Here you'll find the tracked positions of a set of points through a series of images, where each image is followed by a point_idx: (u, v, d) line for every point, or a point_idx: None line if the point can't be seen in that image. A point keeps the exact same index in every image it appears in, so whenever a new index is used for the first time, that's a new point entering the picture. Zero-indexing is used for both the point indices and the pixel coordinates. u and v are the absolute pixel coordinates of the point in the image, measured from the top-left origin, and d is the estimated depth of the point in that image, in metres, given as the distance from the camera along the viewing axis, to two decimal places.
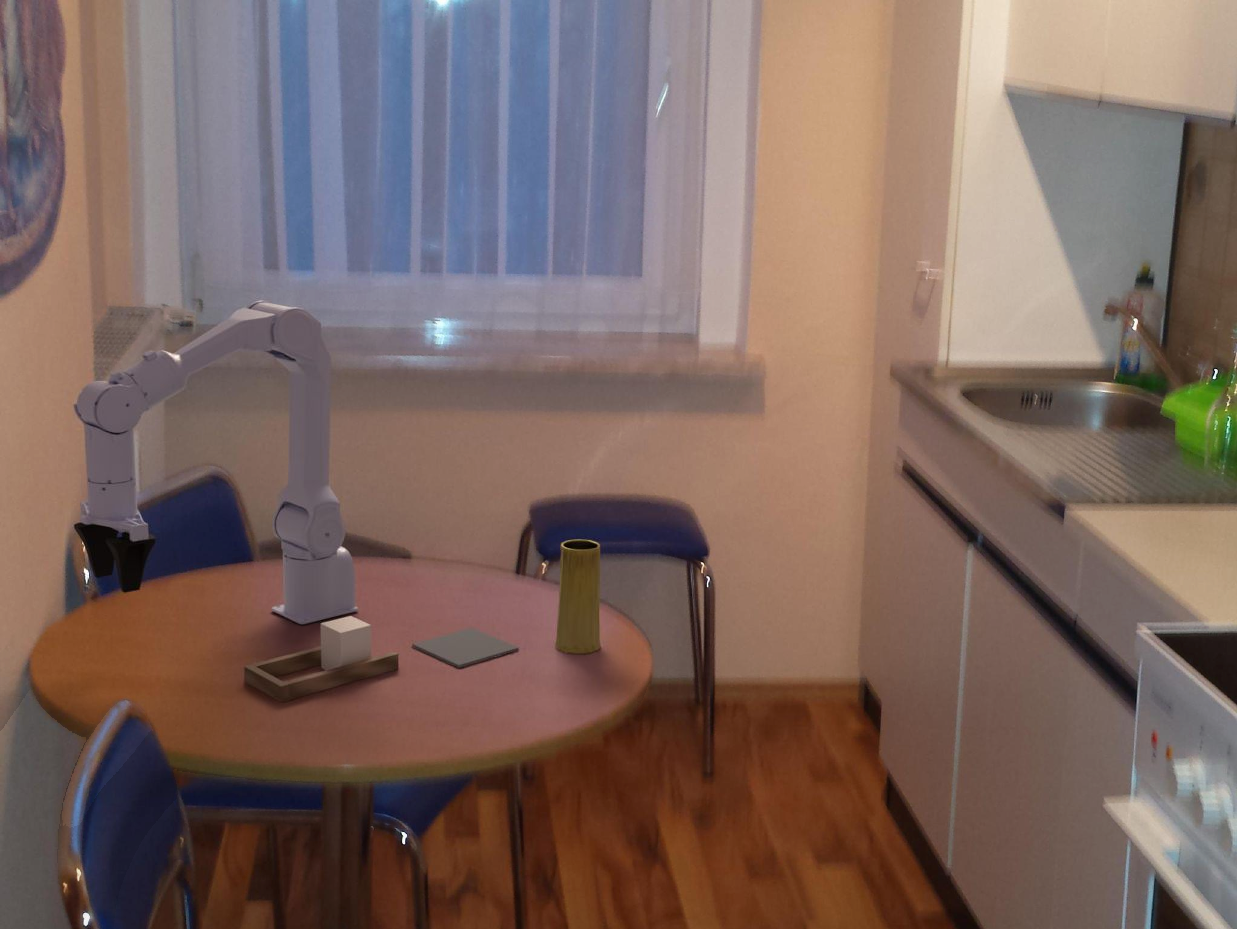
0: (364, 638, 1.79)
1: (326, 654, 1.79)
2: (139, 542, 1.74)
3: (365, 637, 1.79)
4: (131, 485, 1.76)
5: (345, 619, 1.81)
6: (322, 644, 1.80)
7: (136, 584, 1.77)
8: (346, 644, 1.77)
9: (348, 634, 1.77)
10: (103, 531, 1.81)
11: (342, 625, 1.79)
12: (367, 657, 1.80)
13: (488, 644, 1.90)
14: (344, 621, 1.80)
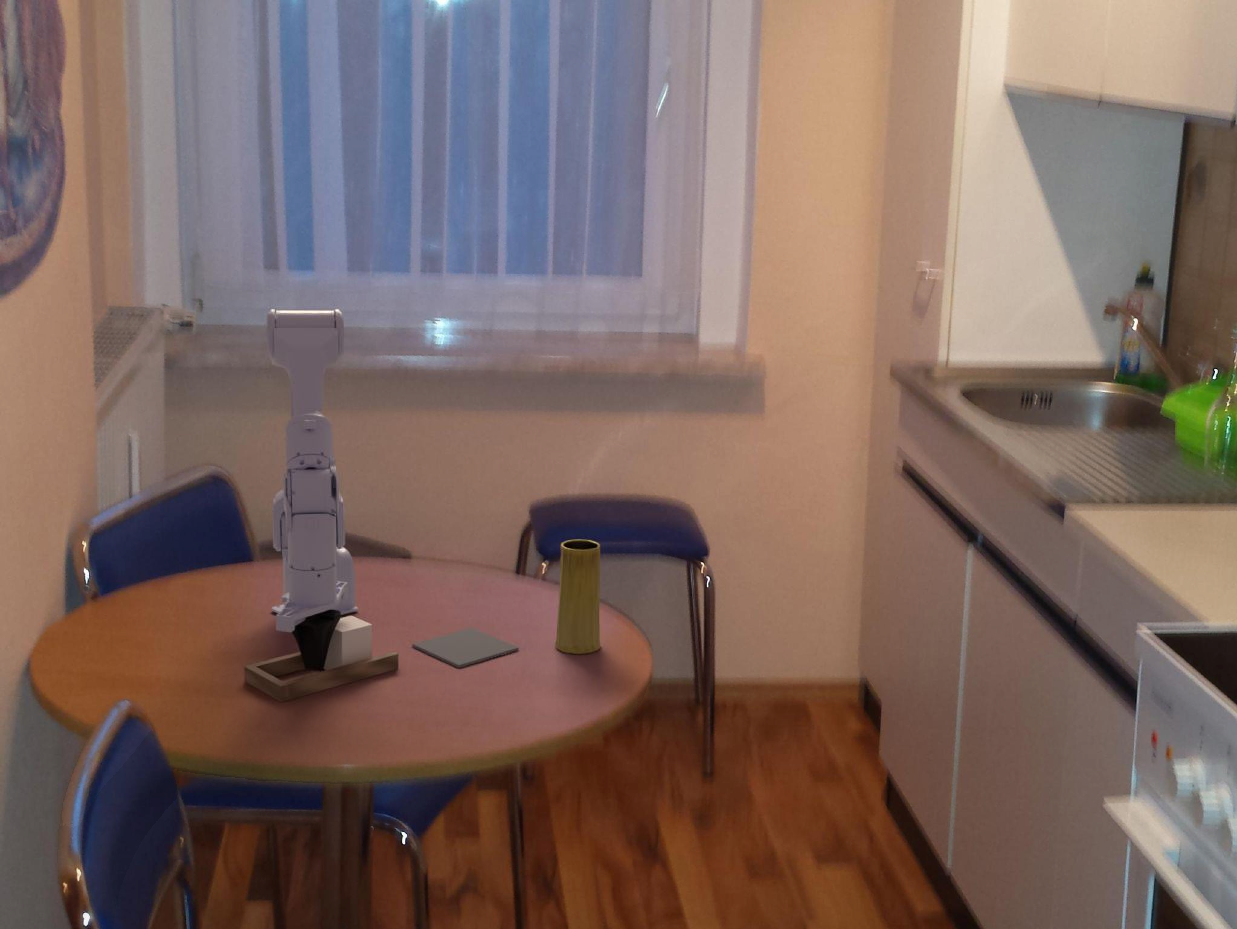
0: (365, 637, 1.79)
1: (327, 654, 1.79)
2: (305, 624, 1.73)
3: (366, 636, 1.79)
4: (312, 575, 1.72)
5: (345, 618, 1.81)
6: None
7: (315, 665, 1.76)
8: (347, 643, 1.77)
9: (349, 634, 1.77)
10: None
11: (343, 624, 1.79)
12: (368, 657, 1.80)
13: (488, 644, 1.90)
14: (345, 620, 1.81)
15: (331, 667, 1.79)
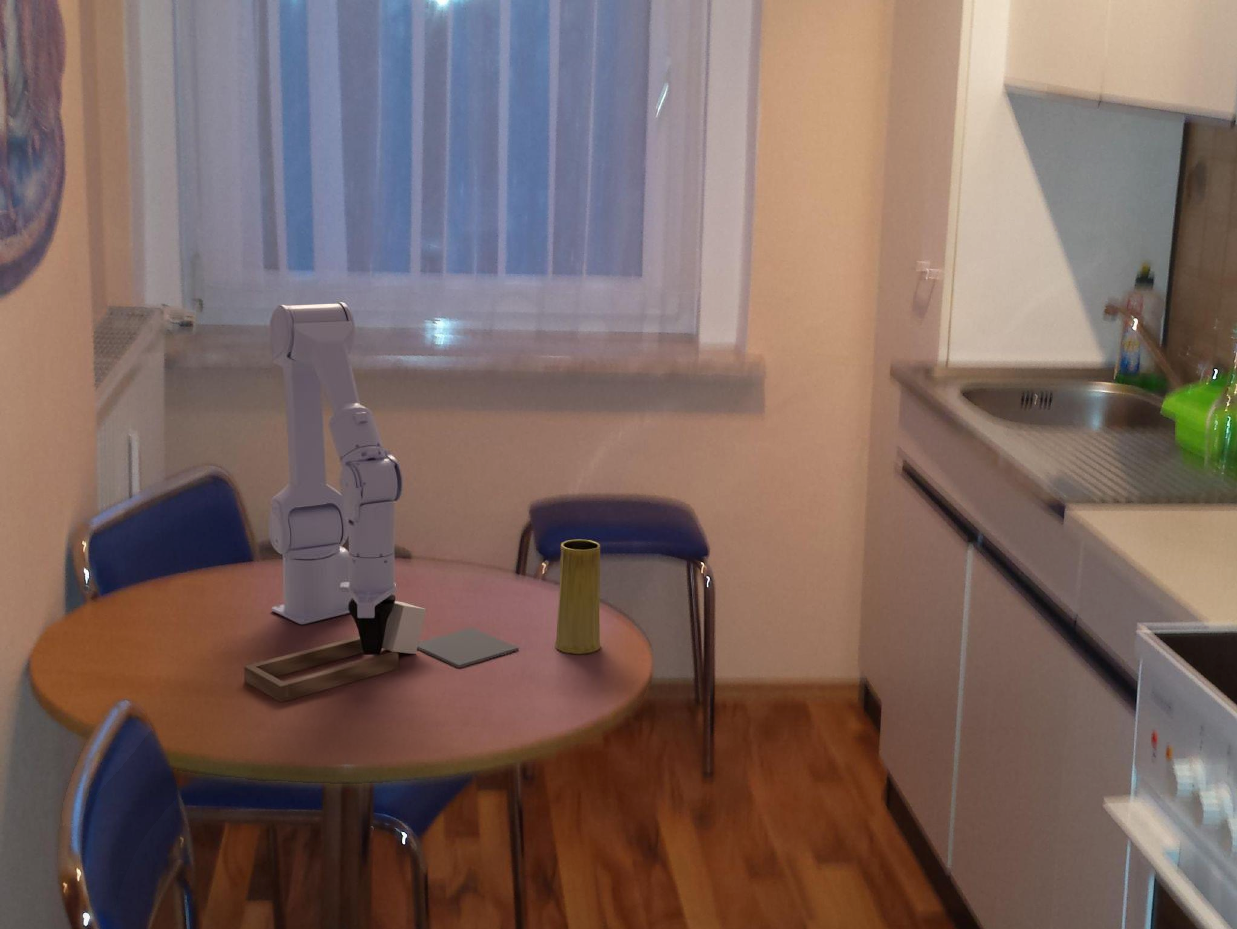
0: (418, 620, 1.86)
1: None
2: None
3: (419, 619, 1.86)
4: (380, 562, 1.78)
5: (398, 602, 1.88)
6: None
7: (376, 649, 1.82)
8: (405, 619, 1.84)
9: (408, 610, 1.84)
10: None
11: (400, 603, 1.86)
12: (416, 640, 1.86)
13: (488, 644, 1.90)
14: (399, 602, 1.87)
15: None
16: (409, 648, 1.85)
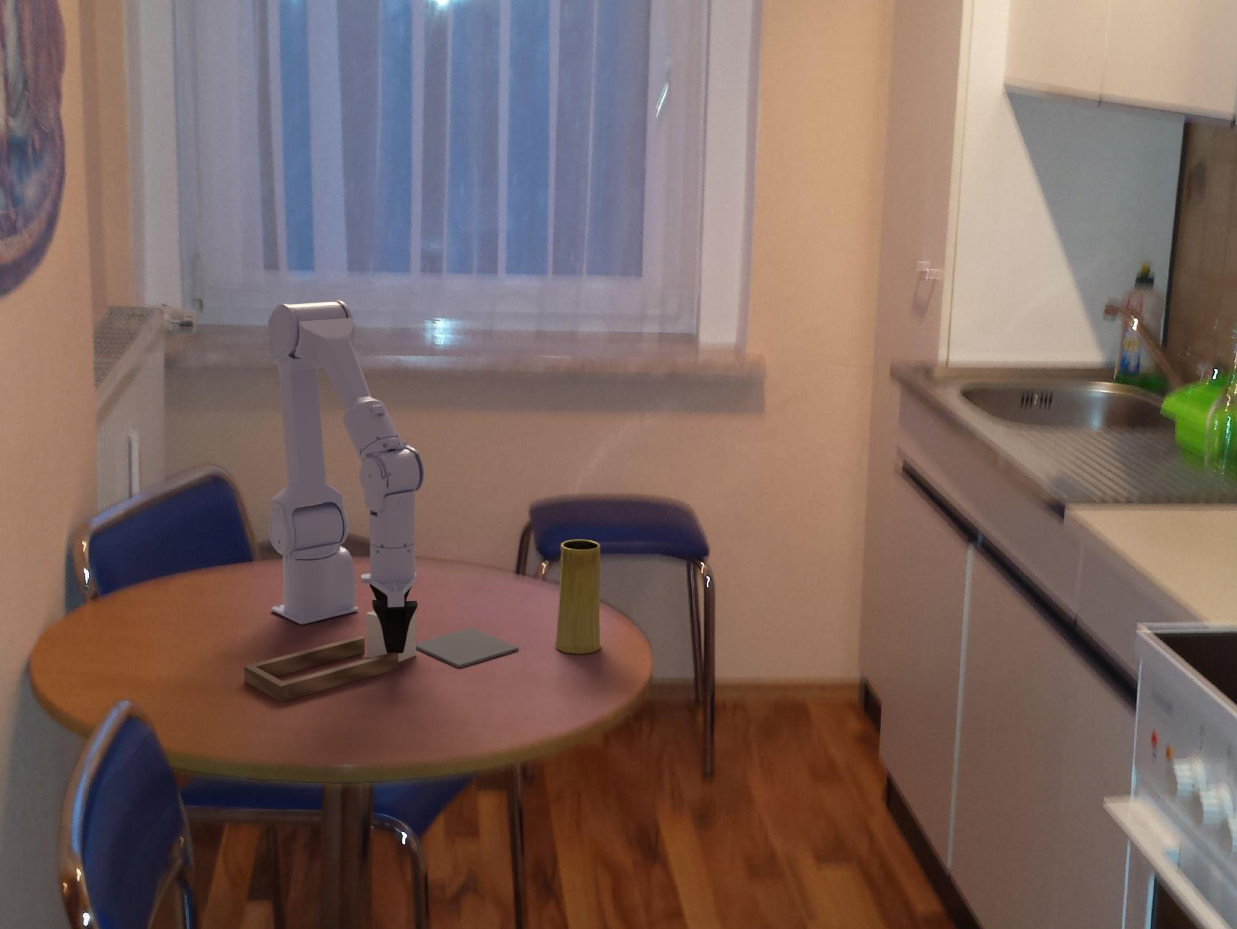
0: (410, 625, 1.84)
1: (373, 643, 1.84)
2: (398, 608, 1.78)
3: (411, 623, 1.84)
4: (404, 551, 1.80)
5: None
6: (368, 633, 1.84)
7: (399, 647, 1.81)
8: None
9: None
10: None
11: None
12: (413, 643, 1.85)
13: (488, 644, 1.90)
14: None
15: (378, 655, 1.84)
16: (408, 653, 1.85)
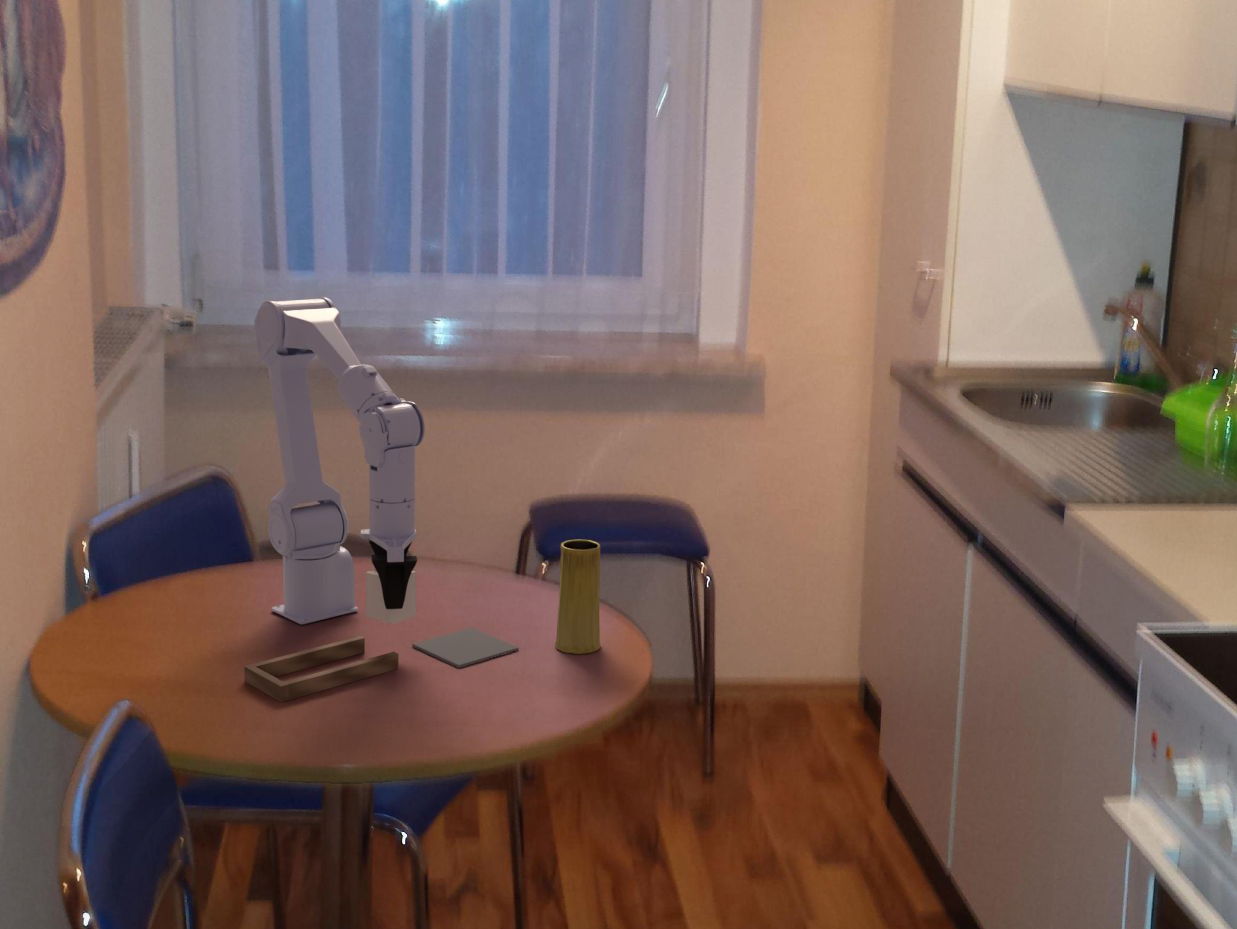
0: (410, 584, 1.83)
1: (372, 602, 1.83)
2: (397, 563, 1.77)
3: (411, 583, 1.83)
4: (404, 507, 1.79)
5: None
6: (367, 592, 1.83)
7: (398, 603, 1.80)
8: None
9: None
10: None
11: None
12: (412, 603, 1.84)
13: (488, 644, 1.90)
14: None
15: (377, 615, 1.83)
16: (407, 613, 1.84)
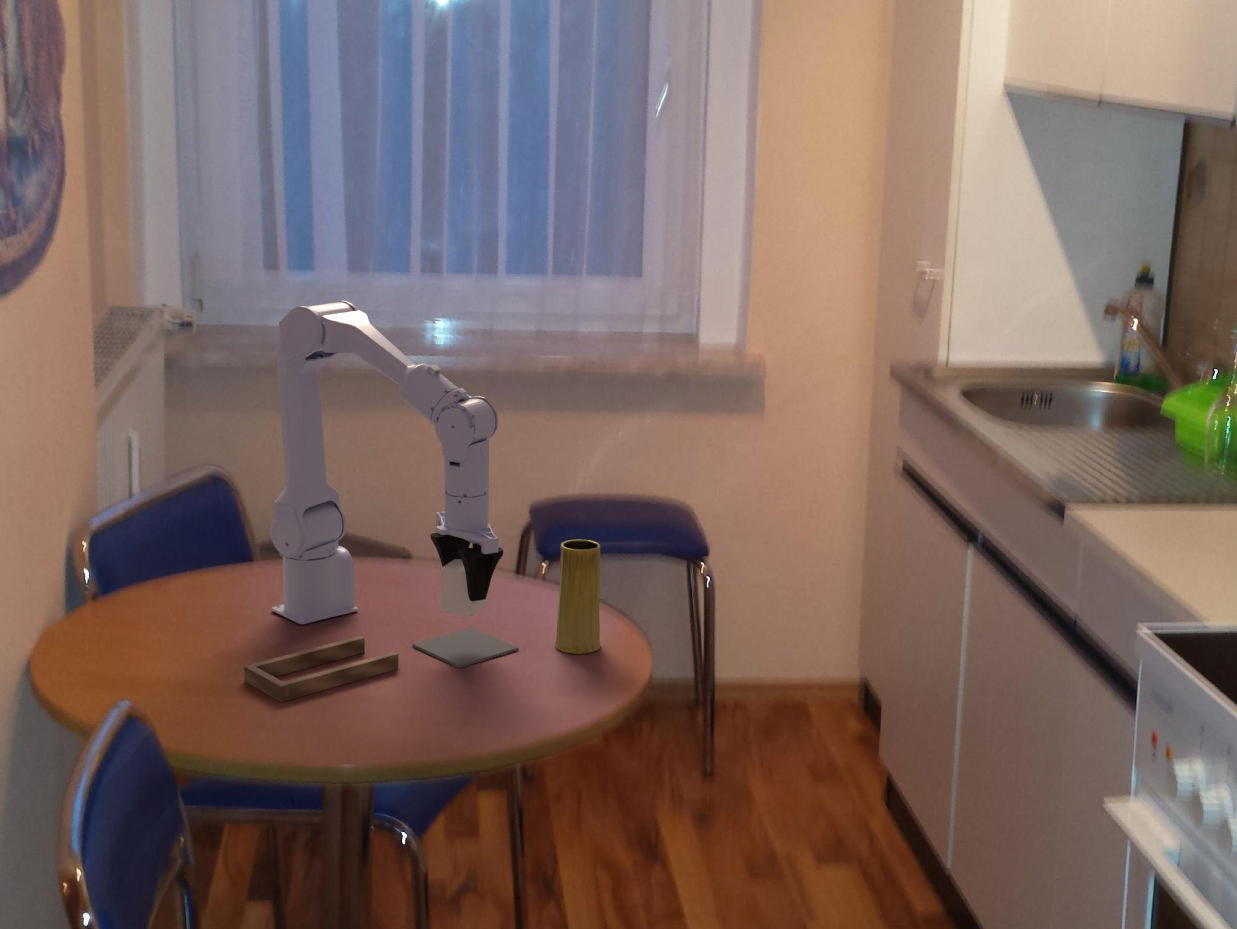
0: None
1: (449, 597, 1.85)
2: (488, 554, 1.81)
3: None
4: (484, 499, 1.83)
5: (455, 561, 1.87)
6: (443, 588, 1.85)
7: (483, 594, 1.84)
8: None
9: None
10: (456, 541, 1.89)
11: (462, 566, 1.86)
12: None
13: (488, 644, 1.90)
14: (458, 563, 1.87)
15: (456, 609, 1.85)
16: (481, 604, 1.87)
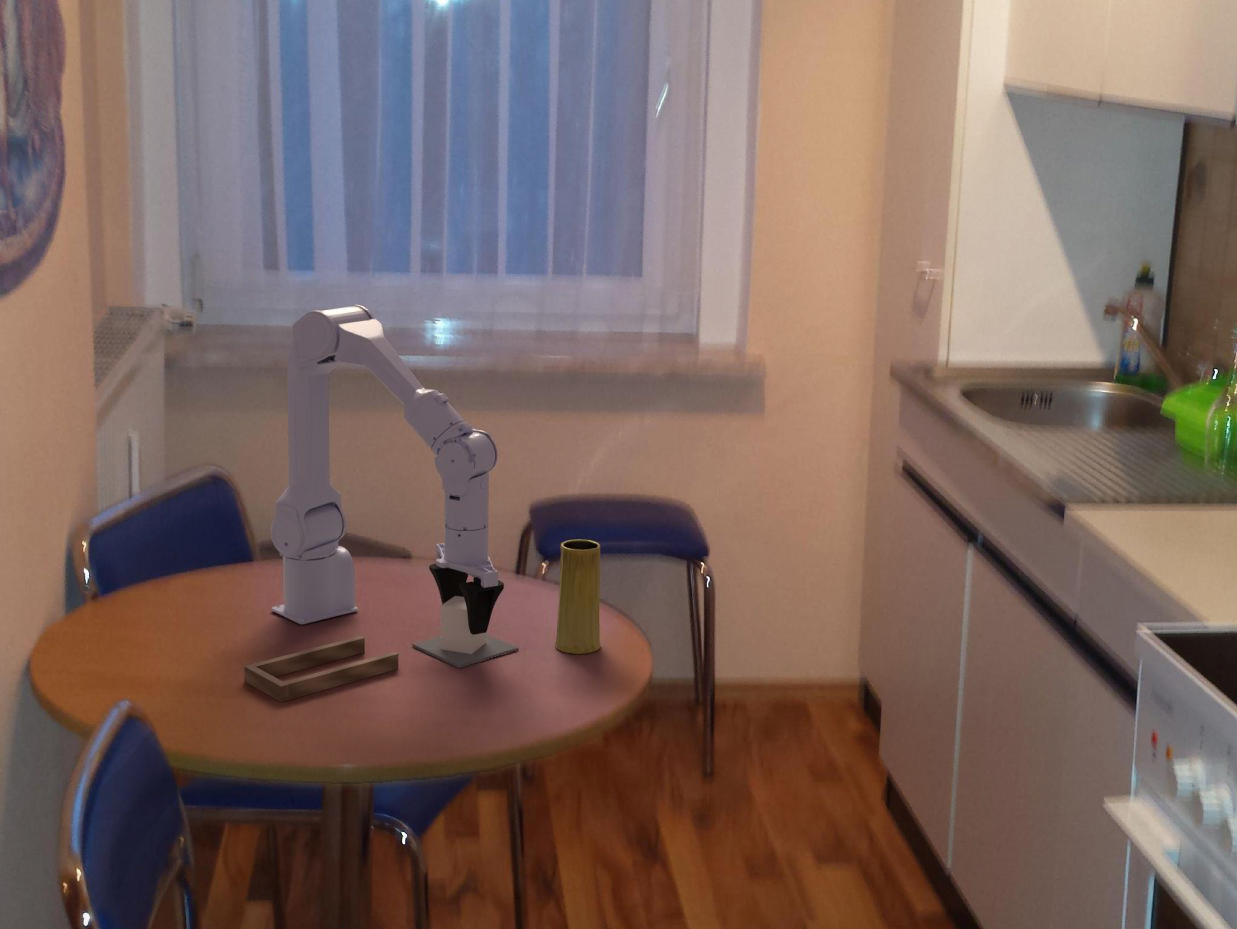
0: None
1: (448, 634, 1.86)
2: (489, 588, 1.82)
3: None
4: (484, 533, 1.84)
5: (455, 599, 1.89)
6: (442, 625, 1.86)
7: (483, 627, 1.85)
8: None
9: None
10: (455, 573, 1.90)
11: (462, 604, 1.87)
12: None
13: (488, 644, 1.90)
14: (457, 600, 1.88)
15: (455, 646, 1.86)
16: (481, 642, 1.89)
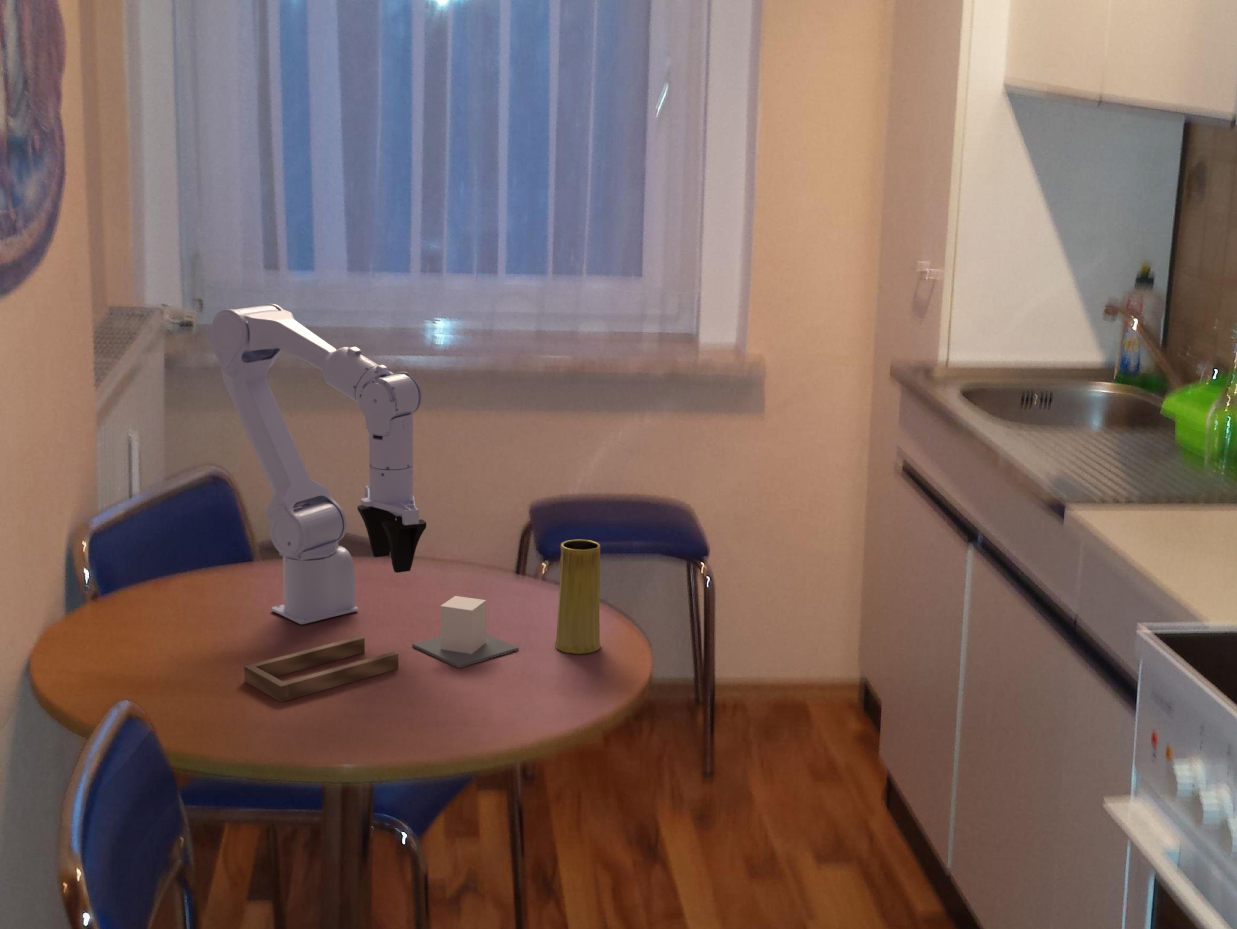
0: (482, 613, 1.88)
1: (448, 634, 1.86)
2: (411, 526, 1.85)
3: (483, 612, 1.88)
4: (407, 472, 1.87)
5: (455, 599, 1.89)
6: (442, 625, 1.86)
7: (407, 565, 1.88)
8: (474, 620, 1.86)
9: (475, 611, 1.86)
10: (383, 513, 1.93)
11: (462, 604, 1.87)
12: (484, 631, 1.89)
13: (488, 644, 1.90)
14: (457, 600, 1.88)
15: (455, 646, 1.86)
16: (481, 642, 1.89)
